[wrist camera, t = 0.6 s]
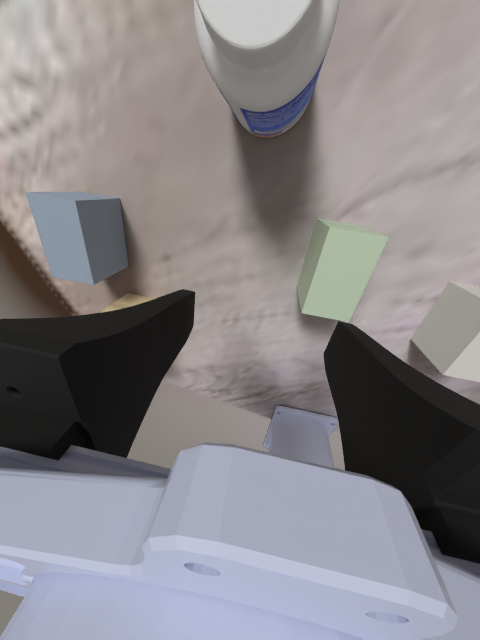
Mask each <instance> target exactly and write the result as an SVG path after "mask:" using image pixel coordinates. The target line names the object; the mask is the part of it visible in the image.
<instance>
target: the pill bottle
mask: <svg viewBox="0 0 480 640" xmlns="http://www.w3.org/2000/svg"><path fill="white" fill-rule="evenodd" d="M339 1H340V0H194V16H195V26H196V33H197V38H198V43H199V47H200V50H201V54H202V57H203V60H204V62H205V65H206V67H207V69H208V72H209V73H210V75H211V77H212V79H213V81H214V82H215V84H216V86H217V87H218V89H219V90H220V92H221V93H222V95H223V97H224V98H225V100H226V101H227V103H228V104H229V106H230V108H231V109H232V111H233V113H234V114H235V116H236V118H237V119H238V121H239V122H240V123H241V124H242V126H243V127H244V128H245V129H246V130H248V131H249V132H250V133H252V134H254V135H256V136H259V137H264V138H268V137H275V136H278V135H280V134H282V133H284V132H286V131H287V130H289V129H290V128H291V127H292V126H293V125H294V124H295V123H296V122H297V121H298V120H299V119H300V117H301V116H302V115H303V113H304V111H305V110H306V108H307V106H308V104H309V101H310V99H311V96H312V93H313V90H314V88H315V84H316V81H317V78H318V75H319V72H320V70H321V67H322V64H323V61H324V58H325V55H326V52H327V49H328V46H329V43H330V40H331V37H332V33H333V30H334V26H335V22H336V18H337V13H338V8H339Z"/></svg>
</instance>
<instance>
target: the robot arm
mask: <svg viewBox="0 0 480 640" xmlns="http://www.w3.org/2000/svg"><path fill="white" fill-rule="evenodd" d="M194 304H195V292H193V291H189V290H184V289H183V290H179V291H176V292H173V293H170V294H167V295H165V296H162V297H159V298H156V299H153V300H150V301H147V302H144V303H141V304H138V305H134V306H131V307H127V308H122V309H118V310H113V311H108V312H101V313H95V314H88V315H80V316H70V317H57V318H32V319H0V590H2V591H6V592H9V593H12V594H15V595H19V596H23V597H25V598H24V599H23V601H22V603H21V604H20V606H19V607H18V609H17V611H16V612H15V614H14V616H13V617H12V619H11V620H10V622H9V624H8V625H7V627H6V628H5V630H4V632H3V633H2V635H1V637H0V640H480V405H479V404H477V403H475V402H473V401H471V400H469V399H467V398H465V397H463V396H461V395H459V394H457V393H456V392H454V391H452V390H450V389H448V388H446V387H444V386H442V385H441V384H439V383H437V382H435V381H434V380H432V379H430V378H429V377H427V376H425V375H424V374H422V373H420V372H419V371H417V370H415V369H414V368H412V367H411V366H409V365H408V364H406V363H405V362H403V361H402V360H401V359H399V358H398V357H396V356H395V355H393V354H392V353H391V352H389V351H388V350H387V349H385V348H384V347H383V346H381V345H380V344H379V343H377V342H376V341H375V340H373V339H372V338H371V337H370V336H368V335H367V334H366V333H364V332H363V331H362V330H360V329H359V328H357V327H356V326H354V325H352V324H350V323H345V322H340V321H338V323H337V326H336V328H335V330H334V332H333V334H332V336H331V339H330V341H329V343H328V345H327V347H326V350H325V352H324V363H325V371H326V375H327V378H328V382H329V386H330V390H331V393H332V397H333V400H334V404H335V408H336V411H337V416H338V420H339V427H340V433H341V439H342V447H343V454H344V463H345V470H341V469H337V468H334V464H333V459H332V454H331V449H330V444H329V440H328V438H329V436H330V434H331V433H332V431H333V430H334V428H335V426H336V425H337V423H338V420H337V418H335V417H331V416H327V415H322V414H317V413H312V412H308V411H303V410H298V409H294V408H289V407H284V406H276V408H275V411H274V414H273V417H272V420H271V422H270V425H269V428H268V431H267V434H266V437H265V440H264V443H263V447H265V448H268V449H270V450H269V451H270V452H269V453H268V452H264V451H259V450H255V449H251V448H247V447H242V446H238V445H232V444H221V443H208V442H207V443H203V444H200V445H197V446H194V447H190V448H187V449H185V450H183V451H181V452H180V453H179V455H178V457H177V458H176V460H175V462H174V464H173V466H172V469H169V468H165V467H161V466H157V465H153V464H149V463H144V462H140V461H136V460H132V459H128V458H127V456H128V453H129V451H130V448H131V446H132V443H133V441H134V439H135V437H136V434H137V432H138V430H139V427H140V425H141V423H142V421H143V418H144V416H145V414H146V412H147V410H148V408H149V406H150V403H151V401H152V399H153V397H154V395H155V393H156V391H157V389H158V387H159V385H160V383H161V381H162V379H163V377H164V376H165V374H166V372H167V371H168V369H169V368H170V366H171V365H172V363H173V362H174V360H175V358H176V357H177V355H178V354H179V352H180V351H181V349H182V348H183V346H184V344H185V343H186V341H187V339H188V337H189V335H190V332H191V330H192V328H193V323H194Z"/></svg>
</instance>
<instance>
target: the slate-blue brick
mask: <svg viewBox="0 0 480 640" xmlns="http://www.w3.org/2000/svg"><path fill="white" fill-rule="evenodd" d="M26 195H27V198H28V202H29V205H30V208H31V211H32V214H33V217H34V220H35V223H36V227H37V230H38V233H39V236H40V239H41V242H42V245H43V248H44V252H45V255H46V258H47V261H48V264H49V267H50V270H51V273H52V277H55V278H60V279H66V280H71V281H76V282H81V283H87V284H92V285H95V284H96V283H98V282H100V281H102V280H104V279H106V278H108V277H110V276H112V275H114V274H116V273H117V272H119V271H121V270H123V269H125V268H127V267H129V266H128V258H127V251H126V243H125V235H124V227H123V219H122V212H121V204H120V198H115V197H109V196H103V195H97V194H92V193H86V192H26Z"/></svg>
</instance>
